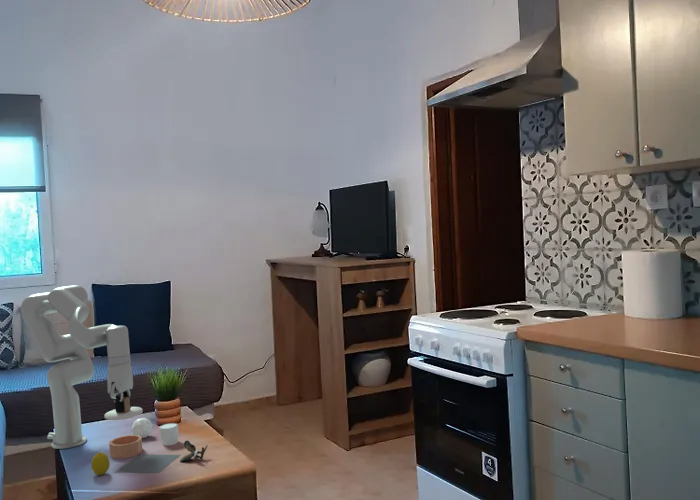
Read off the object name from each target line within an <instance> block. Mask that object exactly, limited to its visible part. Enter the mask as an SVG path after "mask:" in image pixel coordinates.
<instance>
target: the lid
mask: <svg viewBox="0 0 700 500" xmlns="http://www.w3.org/2000/svg"><path fill="white" fill-rule="evenodd" d="M123 401H124V409H125V412H116V408H115V409H112V410H110V411H107V412H106V413H105V414H104V419H105V420H108V421H119V420H124V419H125V420H126V419H130V418H131V419H132V418H135V417H137V416H139V415H142V413H143V408H142V407H140V406H131V408H130V403H131V397H123Z"/></svg>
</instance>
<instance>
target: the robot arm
mask: <svg viewBox="0 0 700 500" xmlns="http://www.w3.org/2000/svg"><path fill="white" fill-rule="evenodd" d="M88 297H89V295H88V292H87V290H86V289H85V288H84V287H83V286H81V285H78V284H77V285H76V284H73V285H67V286H66V285H65V286H60V287H56V288H54V289H52V290H50V291H49V292H48V291H47V292H42V293H41V292H40V293H35V294H31V295H28V296H26V297H25V298H24V299H23V301H22V302H21V306H20V312H21V318H22V319H23V321H24V323H25V325H26V327H27V328H28V329H29V330H30V332H31V334H32V336H33V338H34V341H35V343H36V345H37V348H38V350H39V351H40V354H41V357H42V358H43V360H44V361H45V362H47V363H56V362H59V361H63V362H59V363H56V364H54V365H52V366H51V367H50V368H49V369H48V371H47V373H46V379H47V382H48V386H49V390H50V394H51V405H52V414H53V415H52V416H53V425H54V426H53V427H54V431H53V432H48V434H47V436H46V438H47V439H48V440H52V442H51V444H50V446H51V447H52V449H57V450H65V449H71V448H75V447H79V446H81V445H84V444H85V443H86V442H87V440H88V438H87V436H86V435H83V431H82V430H83V429H82V417H81V405H80V396H79V394H78V392H77V390H75V388H74V386H75V385H79V384H81V383H85V382H87V381H90V380H91V379H92V378H93V377H94V374H95V368H94V367H95V366H94V364H93V361H92V359H91V357H90V354H89V353H88V350H92V349H95V348H101V347H104V346H105V347H106V352H107V361H108V362H107V363H108V366H107V393H108V394H109V397H110V398H111V399H113V402H114V407H115V409H116V412H125V409H124V401H123V397H129V398H131V394H132V393H131V392H132V389H133V388H134V377H133V368H132V365H131V362H132V361H131V352H130V351H131V350H130V337H129V329H128V327H127V326H126V325H116V324H113V323H108V324H107V323H106V324H101V325H96V326H91V327H86V326H85V325H84V324H83V323H84V322H85V321H86V319H87V318H88V316H89V315H90V314H89V313H90V308H89V306H88V305H87V304H86V303H87V302H88V300H89V299H88ZM57 313H59V314H60V315H61V316H62V317H63V318H64V319H65V320H66V321H68V322H67V323H68V325H67V326H68V333H69V334H63V335H61V334H60V333H59V331H58V329H57V326H56V325H55V323H53V322H52V320H51V319H49V318H47V317H46V316H45V315H50V314H57ZM87 349H88V350H87ZM68 359H69V360H68ZM64 360H65V361H64ZM66 360H67V361H66ZM131 403H132V402H130V408H131V407H132V405H131Z"/></svg>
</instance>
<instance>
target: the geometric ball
mask: <svg viewBox="0 0 700 500" xmlns="http://www.w3.org/2000/svg"><path fill="white" fill-rule="evenodd" d="M131 425H132V426H131V434H132V435H139V436H141V437H142V439H146V438H148V437H149V435H150V434H152V430H153V424H152V422H151V420H150V419H148V418H145V417H142V418H141V417H140V418H137V419H135V420H134V422H133V423H132V424H131Z"/></svg>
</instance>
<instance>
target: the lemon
mask: <svg viewBox="0 0 700 500" xmlns="http://www.w3.org/2000/svg"><path fill="white" fill-rule="evenodd" d="M109 468H110V459H109V456H108V455H107V454H106V453H105V452H101V451H98V452H97V453H96V454H95V455H93V457H92V459H91V470H92V472H93V473H94V474H95V475H98V476H103V475H104V474H106V473H107V472H108V470H109Z"/></svg>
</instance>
